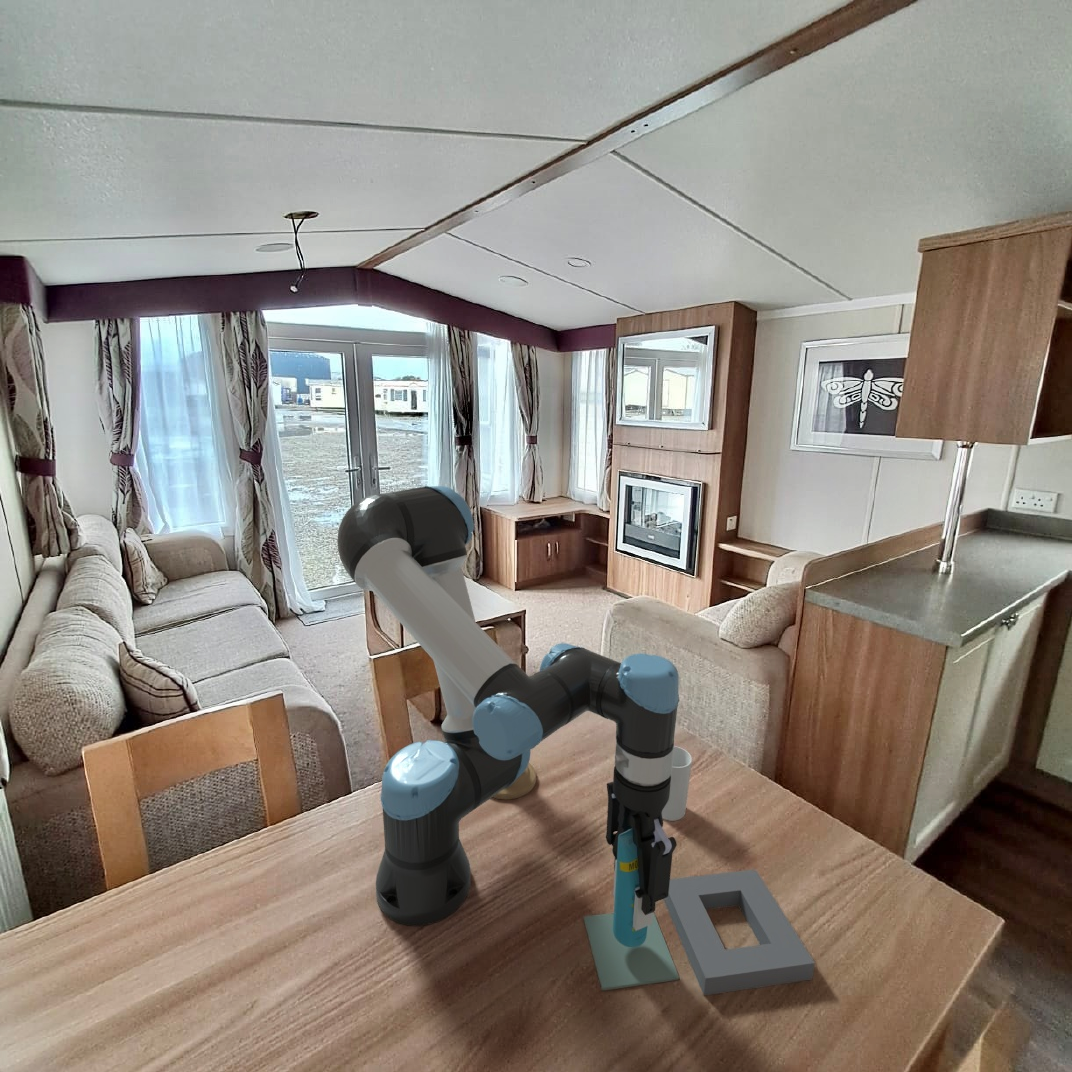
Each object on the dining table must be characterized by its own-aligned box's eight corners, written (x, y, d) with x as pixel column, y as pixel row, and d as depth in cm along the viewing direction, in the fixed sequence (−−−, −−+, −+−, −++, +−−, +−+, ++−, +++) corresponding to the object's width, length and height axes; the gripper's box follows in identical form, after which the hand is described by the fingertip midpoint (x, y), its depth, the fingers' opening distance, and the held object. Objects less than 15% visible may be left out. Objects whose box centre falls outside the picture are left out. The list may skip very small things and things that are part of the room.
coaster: (602, 990, 79) (602, 988, 78) (583, 918, 89) (583, 916, 89) (678, 979, 80) (679, 977, 80) (651, 910, 91) (652, 908, 91)
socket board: (703, 995, 78) (705, 978, 77) (661, 894, 93) (662, 879, 93) (811, 979, 81) (815, 962, 80) (753, 884, 96) (755, 869, 95)
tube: (626, 960, 80) (634, 845, 75) (600, 935, 83) (606, 824, 78) (659, 928, 85) (669, 818, 80) (633, 906, 88) (641, 799, 83)
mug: (693, 817, 110) (699, 763, 107) (663, 826, 108) (668, 770, 105) (664, 784, 119) (669, 733, 116) (636, 791, 117) (640, 739, 114)
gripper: (586, 739, 83) (580, 871, 89) (657, 822, 68) (644, 976, 74) (630, 727, 86) (621, 856, 92) (709, 804, 71) (692, 954, 76)
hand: (632, 909), depth 83 cm, fingers closed on tube, 5 cm apart
